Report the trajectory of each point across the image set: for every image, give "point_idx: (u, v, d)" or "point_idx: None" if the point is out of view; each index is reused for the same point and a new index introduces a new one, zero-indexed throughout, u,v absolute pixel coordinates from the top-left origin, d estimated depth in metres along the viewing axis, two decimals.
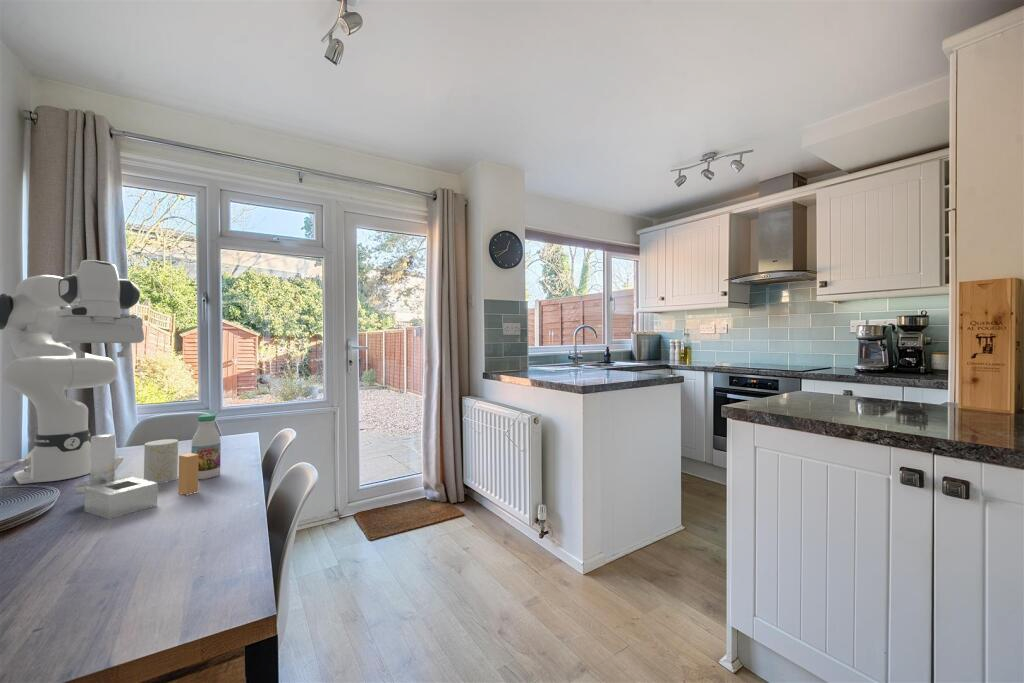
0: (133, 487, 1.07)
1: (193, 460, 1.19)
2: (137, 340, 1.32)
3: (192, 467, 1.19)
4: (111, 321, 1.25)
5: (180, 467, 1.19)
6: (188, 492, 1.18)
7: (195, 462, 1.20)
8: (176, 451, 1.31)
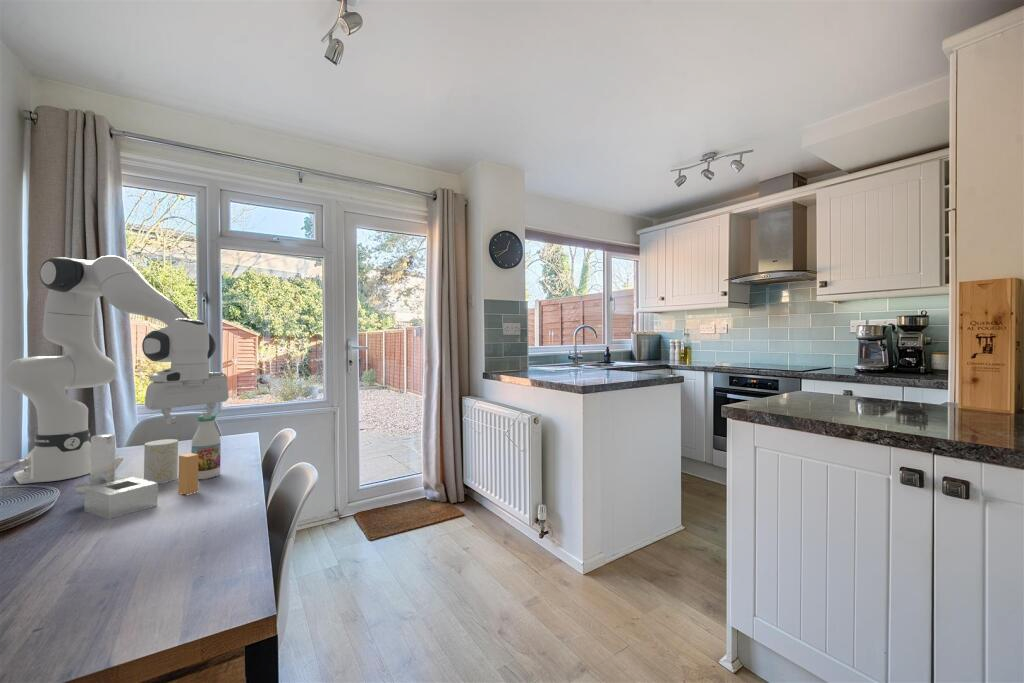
0: (133, 487, 1.07)
1: (193, 460, 1.19)
2: (222, 400, 1.27)
3: (192, 467, 1.19)
4: (201, 383, 1.20)
5: (180, 467, 1.19)
6: (188, 492, 1.18)
7: (195, 462, 1.20)
8: (176, 451, 1.31)
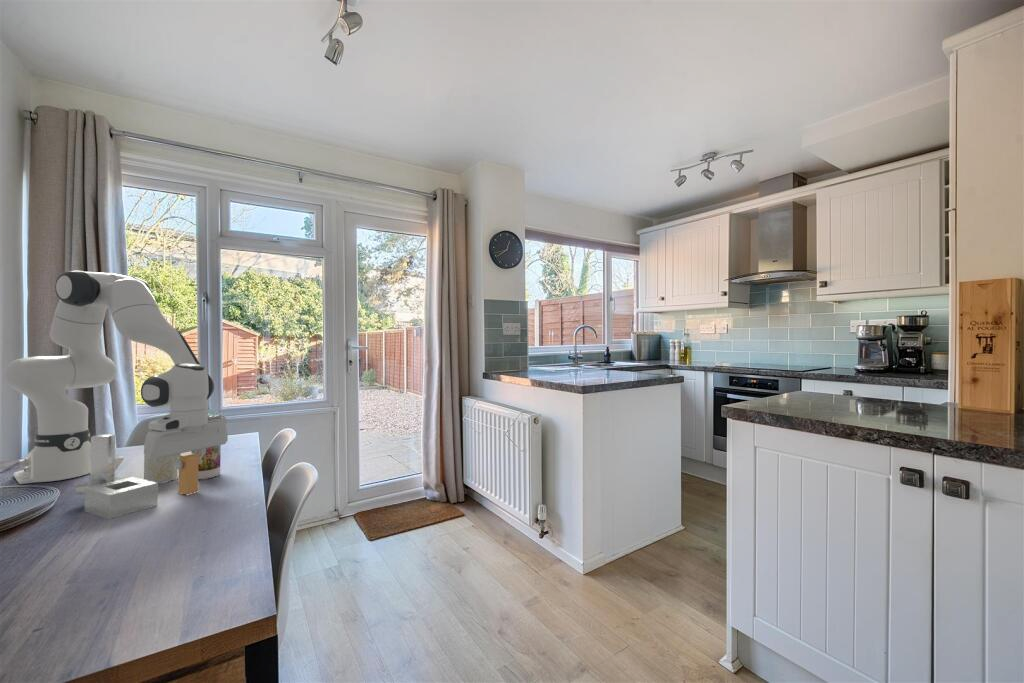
0: (133, 487, 1.07)
1: (193, 460, 1.19)
2: (221, 443, 1.26)
3: (192, 467, 1.19)
4: (200, 429, 1.20)
5: None
6: (188, 492, 1.18)
7: (195, 462, 1.20)
8: None
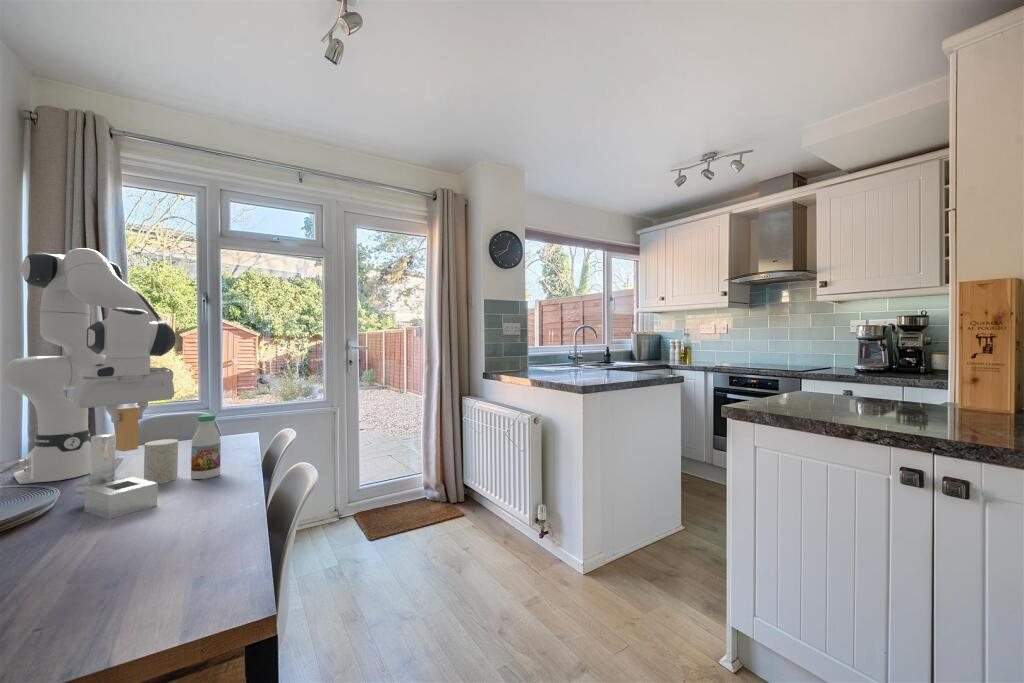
0: (133, 487, 1.07)
1: (132, 413, 1.08)
2: (167, 397, 1.16)
3: (131, 421, 1.08)
4: (140, 379, 1.09)
5: None
6: (126, 448, 1.07)
7: (134, 416, 1.09)
8: (176, 451, 1.31)
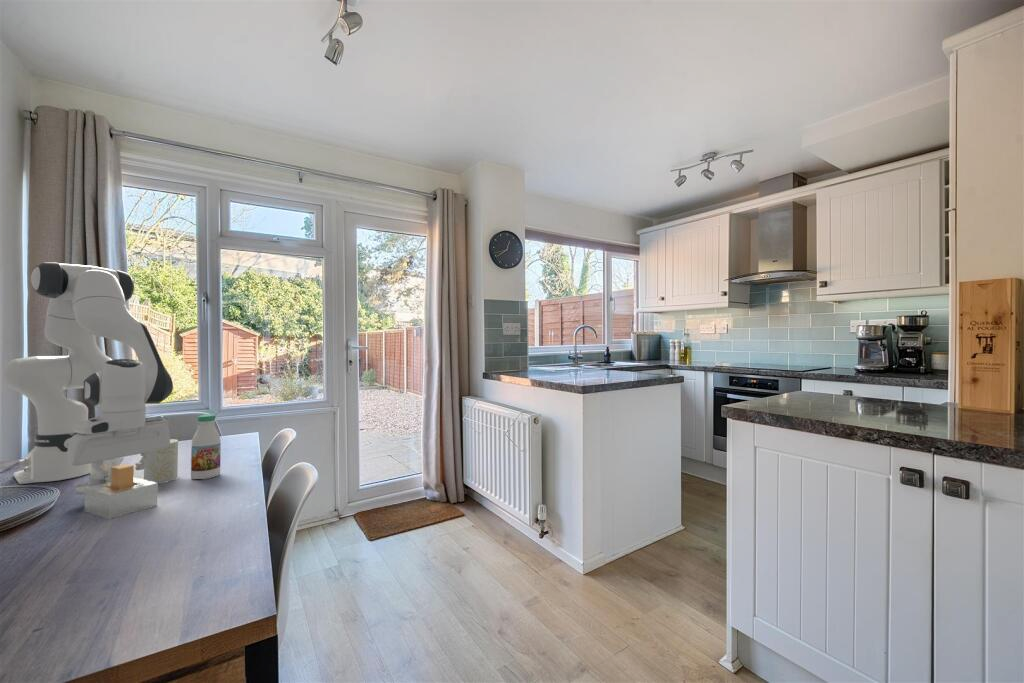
0: (133, 487, 1.07)
1: (127, 472, 1.07)
2: (162, 447, 1.15)
3: (125, 480, 1.07)
4: (135, 432, 1.08)
5: (112, 480, 1.07)
6: None
7: (129, 474, 1.08)
8: (176, 451, 1.31)
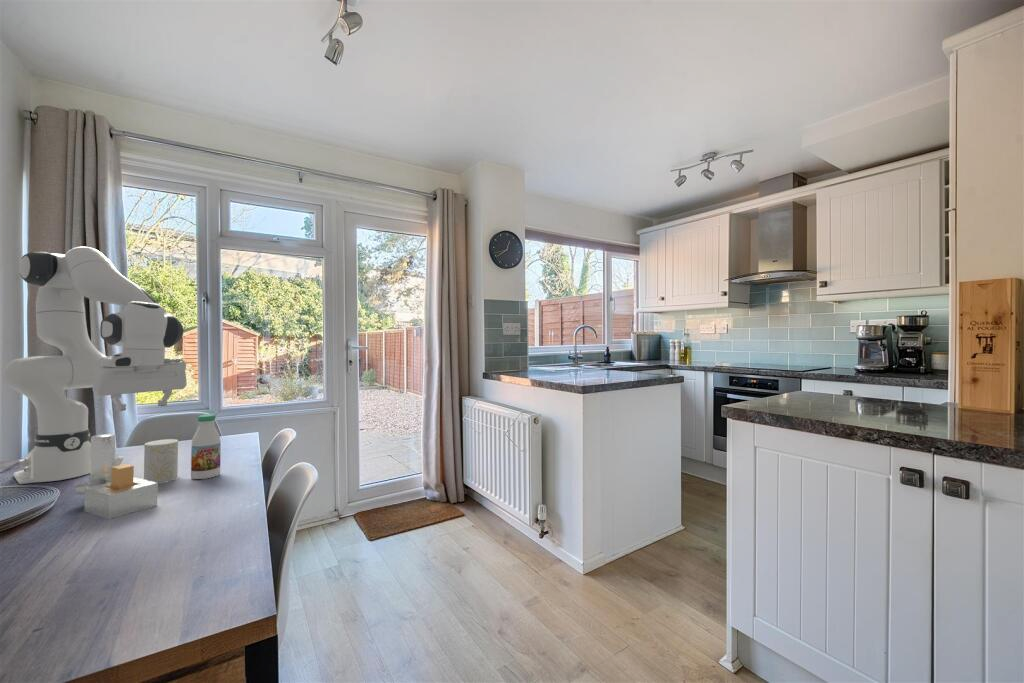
0: (133, 487, 1.07)
1: (127, 472, 1.07)
2: (179, 387, 1.22)
3: (125, 480, 1.07)
4: (155, 369, 1.16)
5: (112, 480, 1.07)
6: None
7: (129, 474, 1.08)
8: (176, 451, 1.31)
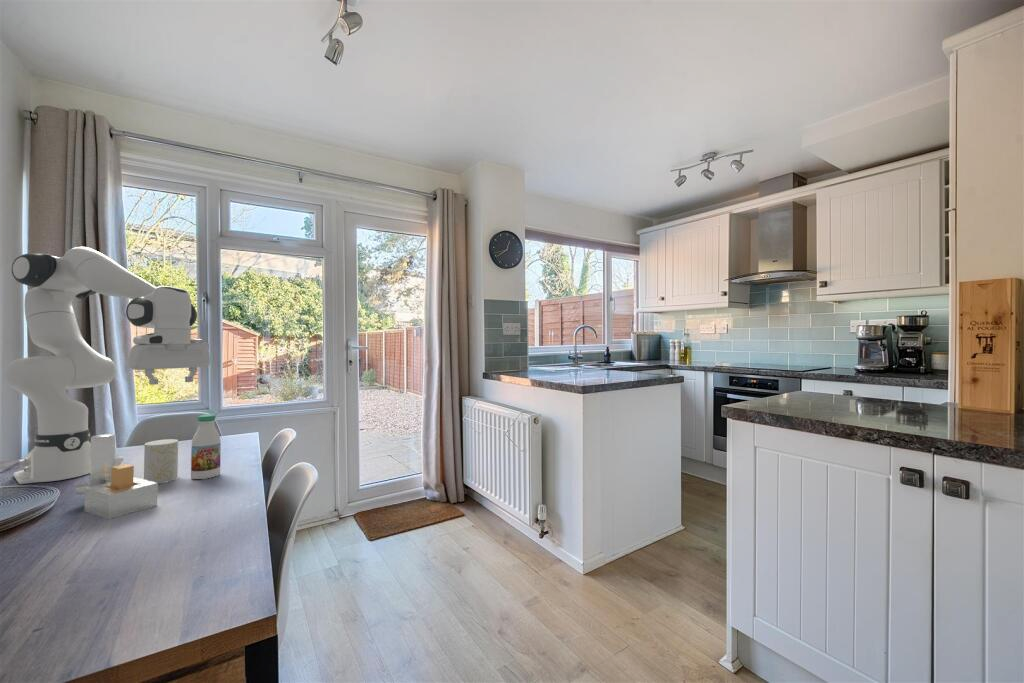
0: (133, 487, 1.07)
1: (127, 472, 1.08)
2: (204, 365, 1.34)
3: (125, 480, 1.07)
4: (183, 348, 1.27)
5: (112, 480, 1.07)
6: None
7: (129, 474, 1.08)
8: (176, 451, 1.31)
